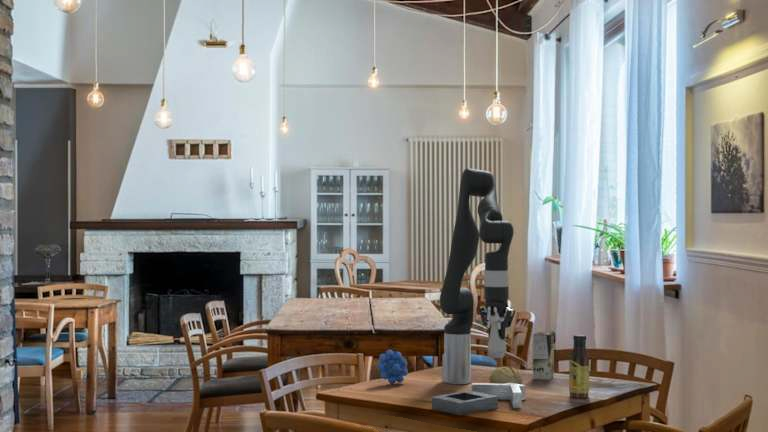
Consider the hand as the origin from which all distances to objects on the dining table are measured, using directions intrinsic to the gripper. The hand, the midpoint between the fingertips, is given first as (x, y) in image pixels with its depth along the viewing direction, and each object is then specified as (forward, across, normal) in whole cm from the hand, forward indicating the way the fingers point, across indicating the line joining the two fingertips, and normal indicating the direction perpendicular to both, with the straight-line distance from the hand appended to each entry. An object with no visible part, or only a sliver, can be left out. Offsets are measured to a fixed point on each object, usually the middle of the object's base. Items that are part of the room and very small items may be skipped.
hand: (496, 340), depth 258 cm
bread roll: (+19, +11, -17) cm, 28 cm away
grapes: (+19, +43, +5) cm, 47 cm away
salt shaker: (+5, 0, 0) cm, 5 cm away
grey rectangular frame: (+19, 0, +14) cm, 24 cm away
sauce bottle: (+19, -11, -27) cm, 35 cm away
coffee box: (+19, +19, -46) cm, 53 cm away
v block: (+19, 0, -4) cm, 20 cm away
